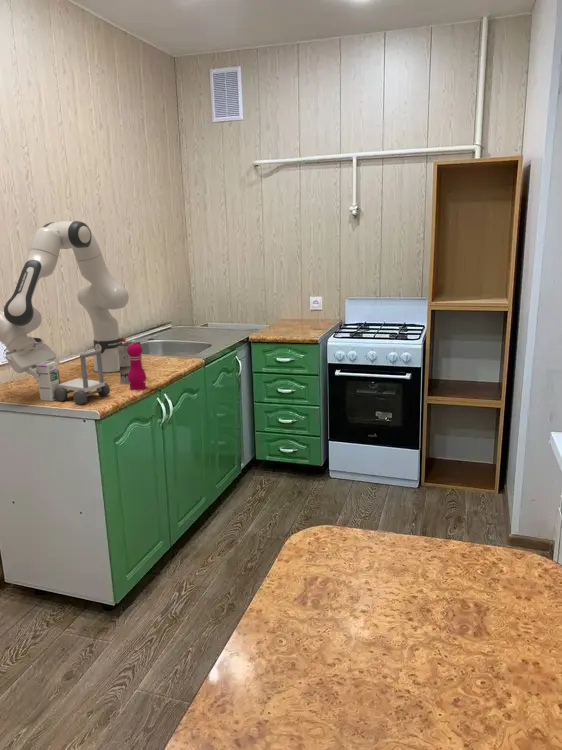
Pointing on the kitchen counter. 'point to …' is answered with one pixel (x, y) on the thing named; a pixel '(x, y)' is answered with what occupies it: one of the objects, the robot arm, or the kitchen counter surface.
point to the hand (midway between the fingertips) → (46, 374)
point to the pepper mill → (136, 367)
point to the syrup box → (48, 379)
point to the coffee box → (124, 361)
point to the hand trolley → (83, 383)
